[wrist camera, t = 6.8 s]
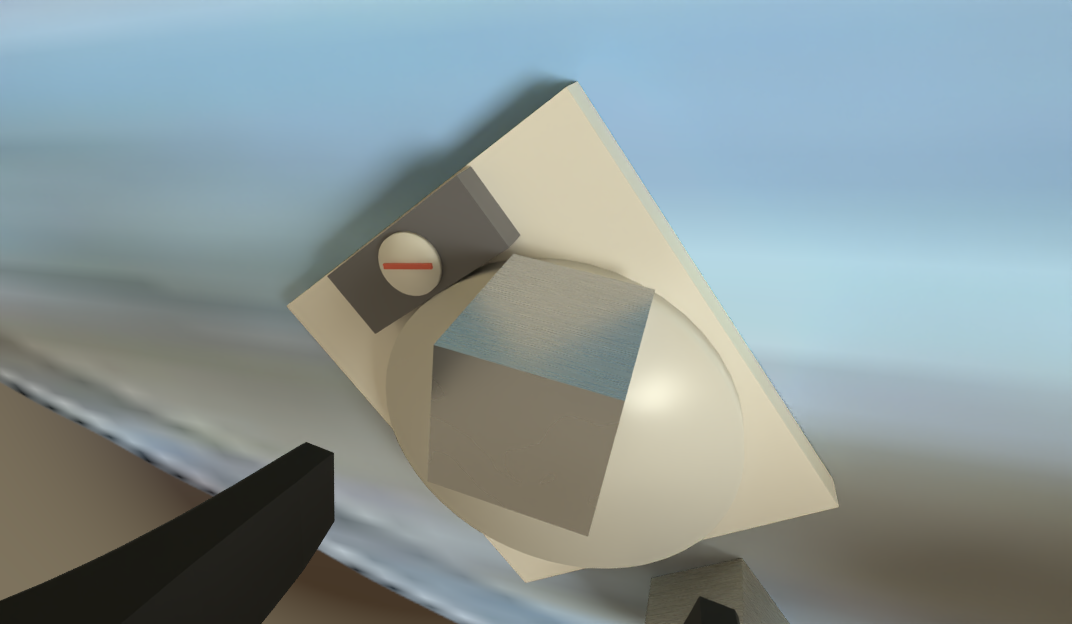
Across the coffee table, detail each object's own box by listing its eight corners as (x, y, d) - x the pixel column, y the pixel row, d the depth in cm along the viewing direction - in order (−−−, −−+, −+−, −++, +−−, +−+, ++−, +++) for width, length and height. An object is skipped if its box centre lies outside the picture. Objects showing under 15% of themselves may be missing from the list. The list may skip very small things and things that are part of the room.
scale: (833, 479, 19) (845, 540, 17) (533, 559, 25) (515, 610, 23) (577, 81, 15) (552, 93, 13) (307, 291, 22) (261, 322, 20)
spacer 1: (655, 289, 15) (625, 400, 11) (624, 404, 17) (588, 536, 13) (513, 253, 16) (433, 344, 12) (499, 368, 18) (427, 481, 14)
